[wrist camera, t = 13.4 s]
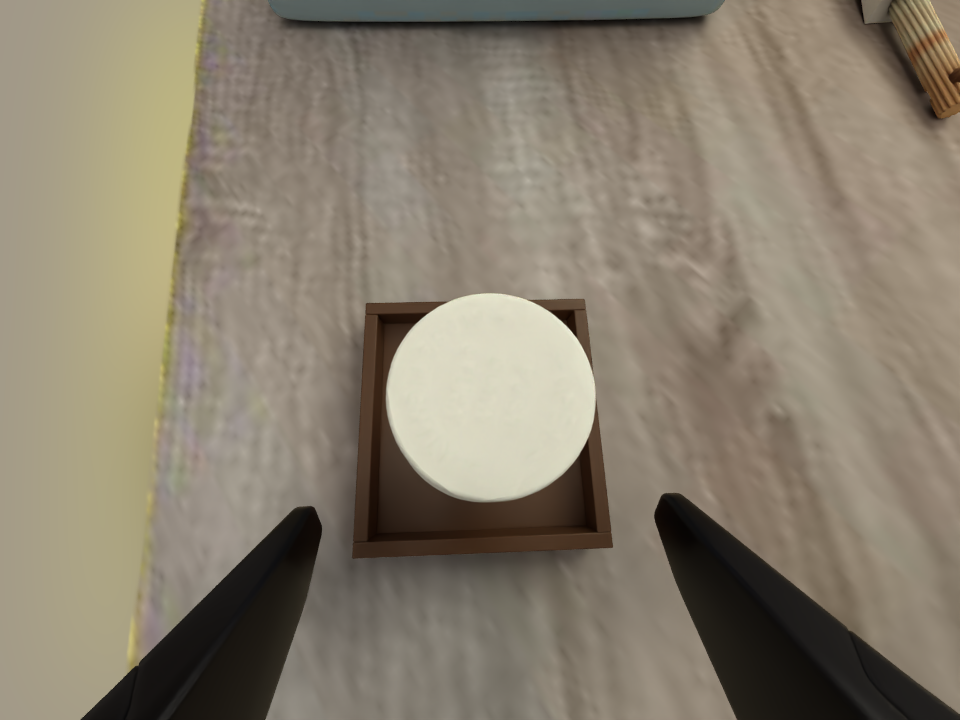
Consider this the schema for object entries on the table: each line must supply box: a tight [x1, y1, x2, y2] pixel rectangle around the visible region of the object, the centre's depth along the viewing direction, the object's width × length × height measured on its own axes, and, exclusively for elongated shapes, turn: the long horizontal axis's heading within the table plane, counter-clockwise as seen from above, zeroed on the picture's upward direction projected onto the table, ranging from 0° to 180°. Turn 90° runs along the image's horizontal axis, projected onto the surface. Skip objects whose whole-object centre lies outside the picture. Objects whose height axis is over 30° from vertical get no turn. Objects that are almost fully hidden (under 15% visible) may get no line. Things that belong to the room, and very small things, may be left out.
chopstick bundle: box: [861, 0, 960, 119], centre depth 27 cm, size 4×3×20 cm
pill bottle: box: [386, 293, 596, 502], centre depth 14 cm, size 6×6×11 cm
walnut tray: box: [352, 299, 613, 559], centre depth 19 cm, size 13×12×2 cm
